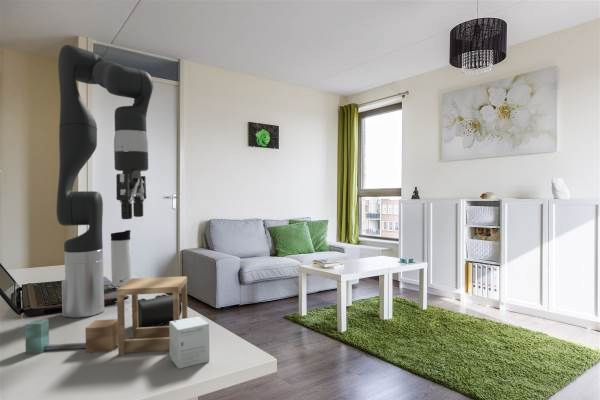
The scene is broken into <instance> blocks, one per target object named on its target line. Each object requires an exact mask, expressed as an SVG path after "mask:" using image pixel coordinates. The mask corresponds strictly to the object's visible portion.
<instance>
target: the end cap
mask: <svg viewBox="0 0 600 400" xmlns="http://www.w3.org/2000/svg"><path fill="white" fill-rule="evenodd" d="M179 315H180V316H182V300H181V299H180V298H179ZM170 321H174V318H173V293H171V294H168V295H167V294H165V293H161V295H160V294H159V295H158V294H157V295H156V296H154V298H150V299H146V298H140V299H138V325H139V328H141V327H157V326H161V325H164V324H167V323H169V322H170Z"/></svg>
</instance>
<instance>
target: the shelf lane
mask: <svg viewBox="0 0 600 400" xmlns="http://www.w3.org/2000/svg"><path fill="white" fill-rule="evenodd" d="M187 283H188V276H184V275H183V276H162V277H137V278H135V277H134V278H133V277H131V280H129V281H128V282H126V283H125V284H123V285H122V286H121V287H119V288H118V289H115V290H116V293H115V294H116V305H117V312H116V313H117V319H118V345H117V346H118V349H117V352H118V356H125V354H126V353H129V354H130V353H139V352H140V353H142V352H143V353H144V352H146V353H147V352H160V351H170V330H169V325H163V326H162V325H158V326H152V327H141V328H139V325H138V300H139V295H153V294H154V295H155V294H157V295H158V294H173V318H174V321H175V320H181V319H185V318H189V317H188V284H187ZM180 292H181V306H182V311H181V315H179V299H180ZM130 295H131V318H132V319H131V320H132V321H131V322H132V338H129V339H128V338H126V328H125V327H126V325H125V322H126V321H125V320H126V319H125V318H126V317H125V296H130ZM180 317H181V319H180Z"/></svg>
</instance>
